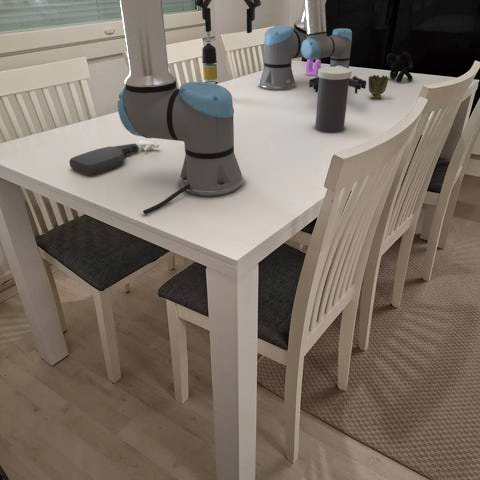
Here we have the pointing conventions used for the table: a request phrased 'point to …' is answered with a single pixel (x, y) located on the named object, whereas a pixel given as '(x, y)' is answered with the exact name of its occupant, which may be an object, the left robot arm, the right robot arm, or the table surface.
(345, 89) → the jar
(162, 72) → the left robot arm
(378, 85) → the cup
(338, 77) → the lid
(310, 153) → the table surface
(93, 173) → the spray bottle
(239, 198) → the table surface
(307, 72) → the bracket
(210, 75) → the filter
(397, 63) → the squiggle
